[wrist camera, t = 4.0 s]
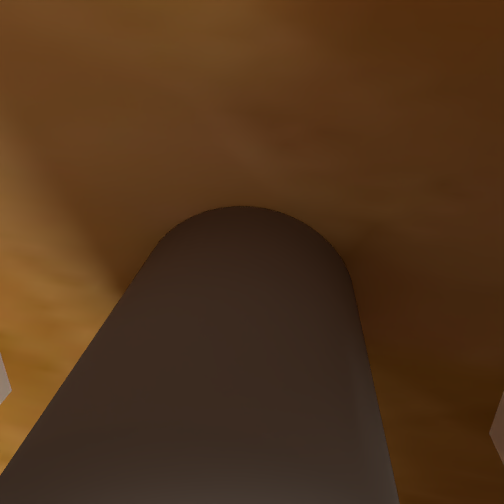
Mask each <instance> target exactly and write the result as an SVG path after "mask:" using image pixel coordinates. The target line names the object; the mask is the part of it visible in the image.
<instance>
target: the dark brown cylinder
mask: <svg viewBox="0 0 504 504" xmlns="http://www.w3.org/2000/svg"><path fill="white" fill-rule="evenodd" d="M0 504H400V503H399V498H398V494H397V489H396V484H395V480H394V475H393V470H392V466H391V461H390V457H389V452H388V447H387V443H386V438H385V433H384V429H383V424H382V420H381V415H380V410H379V406H378V401H377V396H376V392H375V387H374V383H373V378H372V373H371V369H370V364H369V359H368V355H367V350H366V346H365V341H364V336H363V332H362V327H361V322H360V318H359V313H358V309H357V304H356V299H355V295H354V290H353V286H352V281H351V278H350V276H349V273H348V271H347V268H346V266H345V264H344V263H343V261H342V259H341V258H340V256H339V255H338V253H337V252H336V251H335V249H334V248H333V247H332V246H331V244H329V243H328V242H327V241H326V240H325V239H324V238H323V237H322V236H321V235H320V234H319V233H317V232H316V231H315V230H313V229H312V228H310V227H309V226H308V225H306V224H304V223H302V222H300V221H299V220H297V219H295V218H292V217H290V216H287V215H285V214H282V213H280V212H276V211H272V210H268V209H263V208H256V207H226V208H218V209H214V210H210V211H206V212H203V213H201V214H198V215H196V216H193V217H191V218H189V219H187V220H185V221H184V222H182V223H180V224H178V225H177V226H176V227H175V228H173V229H172V230H171V231H169V232H168V233H167V234H166V235H165V236H164V237H163V238H162V239H161V240H160V242H159V243H158V244H157V246H156V247H155V248H154V250H153V251H152V253H151V254H150V256H149V257H148V259H147V260H146V262H145V263H144V265H143V266H142V268H141V269H140V270H139V272H138V273H137V275H136V276H135V278H134V279H133V281H132V282H131V284H130V285H129V287H128V288H127V290H126V291H125V293H124V294H123V296H122V297H121V298H120V300H119V301H118V303H117V304H116V306H115V307H114V309H113V310H112V312H111V313H110V315H109V316H108V318H107V319H106V321H105V322H104V324H103V325H102V326H101V328H100V329H99V331H98V332H97V334H96V335H95V337H94V338H93V340H92V341H91V343H90V344H89V346H88V347H87V349H86V350H85V351H84V353H83V354H82V356H81V357H80V359H79V360H78V362H77V363H76V365H75V366H74V368H73V369H72V371H71V372H70V374H69V375H68V377H67V378H66V379H65V381H64V382H63V384H62V385H61V387H60V388H59V390H58V391H57V393H56V394H55V396H54V397H53V399H52V400H51V402H50V403H49V405H48V406H47V407H46V409H45V410H44V412H43V413H42V415H41V416H40V418H39V419H38V421H37V422H36V424H35V425H34V427H33V428H32V430H31V431H30V433H29V434H28V435H27V437H26V438H25V440H24V441H23V443H22V444H21V446H20V447H19V449H18V450H17V452H16V453H15V455H14V456H13V458H12V459H11V461H10V462H9V463H8V465H7V466H6V468H5V469H4V471H3V472H2V474H1V475H0Z"/></svg>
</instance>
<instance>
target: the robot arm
mask: <svg viewBox="0 0 504 504" xmlns="http://www.w3.org/2000/svg"><path fill="white" fill-rule="evenodd" d="M11 391H12V390H11V386H10V383H9V380H8V377H7V373H6V370H5V367H4V364H3V360H2V357H1V354H0V404H1V403H2V402H3V400H4V399H5V398H6V397H7V396H8V394H9V393H10V392H11ZM489 435H490V437H491V439H492V441H493V443H494V445H495V447H496V450H497V452H498V454H499V456H500V458H501V460H502V462H503V465H504V391H503V394H502V397H501V400H500V403H499V406H498V409H497V412H496V414H495V417H494V420H493V423H492V426H491V429H490V432H489Z"/></svg>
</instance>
